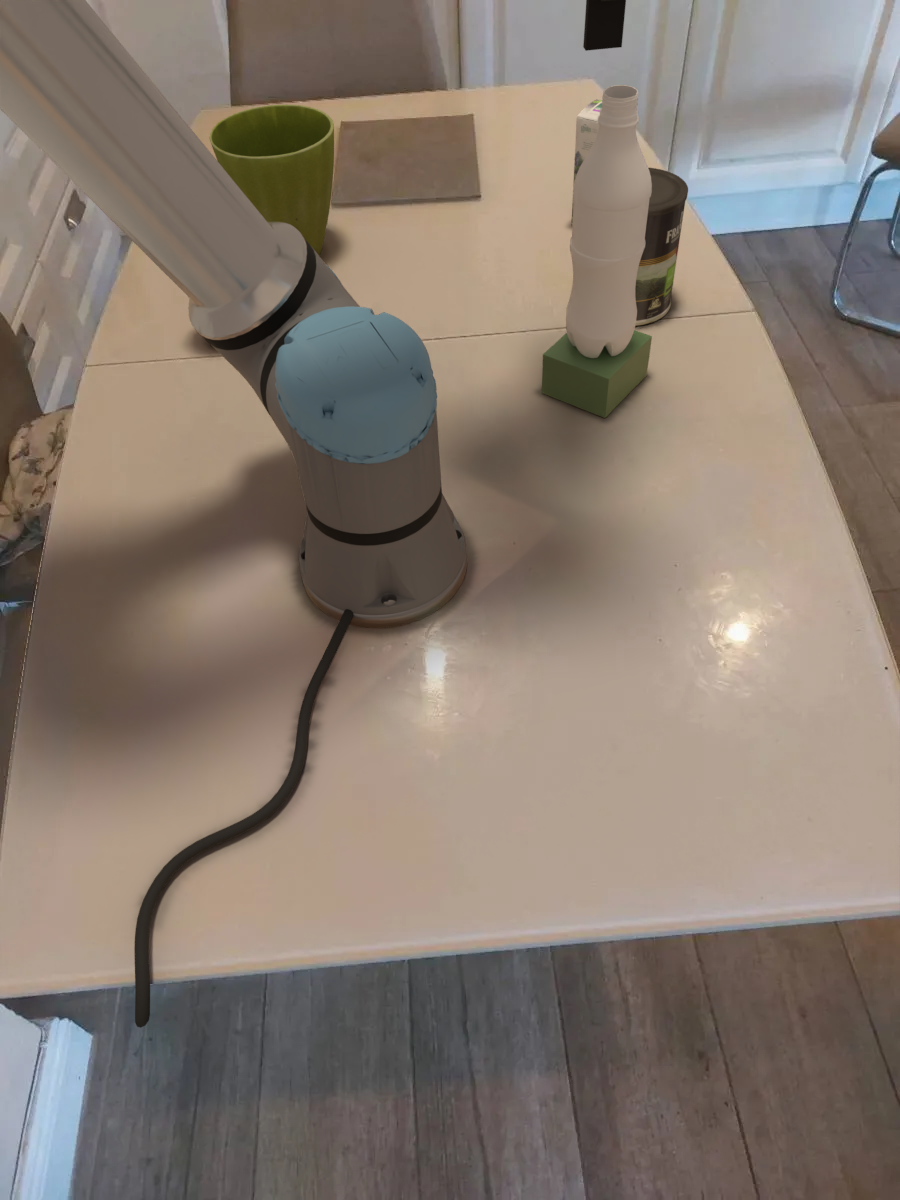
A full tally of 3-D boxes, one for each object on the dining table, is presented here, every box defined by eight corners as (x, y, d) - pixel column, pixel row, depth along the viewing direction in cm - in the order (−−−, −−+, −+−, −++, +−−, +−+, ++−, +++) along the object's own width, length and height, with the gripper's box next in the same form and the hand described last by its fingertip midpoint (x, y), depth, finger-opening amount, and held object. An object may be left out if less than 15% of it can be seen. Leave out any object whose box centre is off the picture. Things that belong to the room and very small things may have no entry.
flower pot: (353, 222, 126) (336, 100, 114) (348, 279, 117) (330, 152, 104) (246, 229, 126) (218, 107, 114) (232, 286, 117) (200, 160, 105)
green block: (605, 418, 96) (609, 379, 92) (541, 393, 99) (542, 354, 96) (646, 375, 101) (652, 336, 97) (584, 352, 104) (587, 313, 100)
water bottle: (630, 367, 93) (661, 110, 74) (560, 362, 95) (573, 108, 75) (635, 328, 98) (665, 76, 79) (568, 323, 99) (582, 74, 80)
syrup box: (627, 217, 123) (638, 104, 112) (607, 237, 120) (617, 122, 109) (589, 208, 126) (597, 96, 114) (569, 227, 122) (575, 114, 111)
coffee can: (676, 285, 112) (694, 169, 101) (663, 331, 106) (681, 214, 95) (593, 275, 114) (602, 162, 104) (576, 320, 108) (584, 205, 97)
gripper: (735, -372, 48) (674, 70, 64) (613, -392, 64) (589, -35, 80) (594, -363, 47) (569, 81, 63) (507, -385, 63) (505, -27, 79)
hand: (580, 17), depth 72 cm, fingers open, 13 cm apart
